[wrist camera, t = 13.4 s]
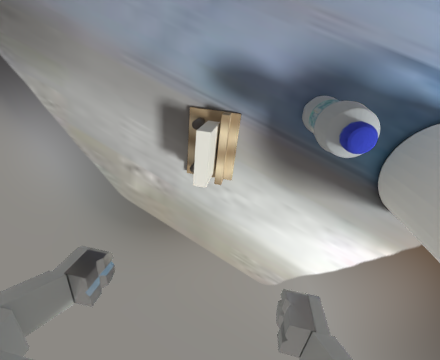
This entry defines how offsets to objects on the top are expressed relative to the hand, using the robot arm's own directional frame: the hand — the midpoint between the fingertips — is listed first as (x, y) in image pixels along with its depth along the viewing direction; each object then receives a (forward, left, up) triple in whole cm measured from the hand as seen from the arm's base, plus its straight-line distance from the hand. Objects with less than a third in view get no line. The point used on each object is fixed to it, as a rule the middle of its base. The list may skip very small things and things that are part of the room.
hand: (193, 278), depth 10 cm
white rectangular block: (+5, -6, -36) cm, 37 cm away
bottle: (-4, +13, -37) cm, 40 cm away
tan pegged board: (+5, -6, -37) cm, 38 cm away
